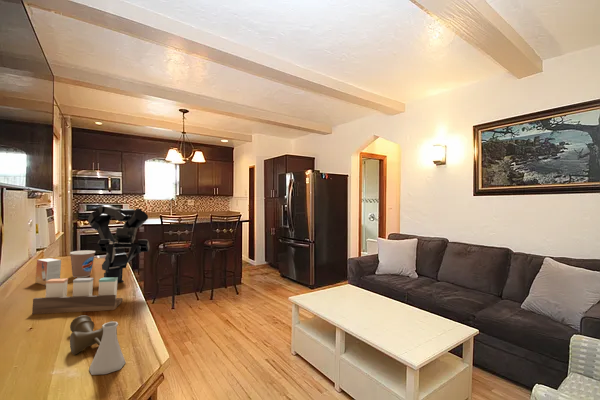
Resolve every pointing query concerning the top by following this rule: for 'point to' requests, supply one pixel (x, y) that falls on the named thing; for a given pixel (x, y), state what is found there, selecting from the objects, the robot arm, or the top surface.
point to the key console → (75, 304)
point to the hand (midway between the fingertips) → (119, 262)
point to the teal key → (108, 286)
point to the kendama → (84, 334)
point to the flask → (108, 352)
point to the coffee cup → (82, 263)
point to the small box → (47, 270)
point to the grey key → (83, 286)
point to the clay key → (56, 288)
